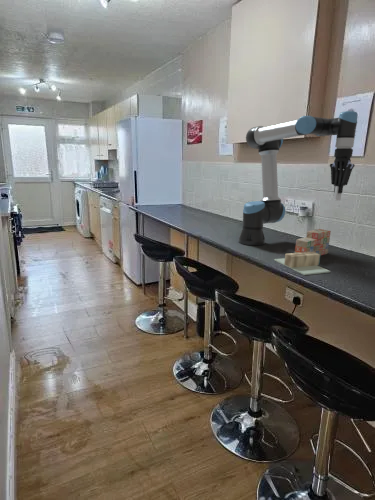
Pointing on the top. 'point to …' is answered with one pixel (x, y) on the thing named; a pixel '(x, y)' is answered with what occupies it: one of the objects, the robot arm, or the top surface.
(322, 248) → the stack of blocks
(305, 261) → the maple block
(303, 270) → the sage cutting board
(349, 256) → the top surface
